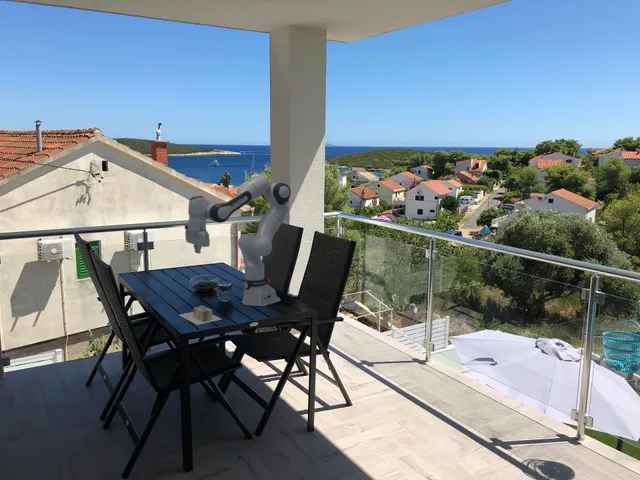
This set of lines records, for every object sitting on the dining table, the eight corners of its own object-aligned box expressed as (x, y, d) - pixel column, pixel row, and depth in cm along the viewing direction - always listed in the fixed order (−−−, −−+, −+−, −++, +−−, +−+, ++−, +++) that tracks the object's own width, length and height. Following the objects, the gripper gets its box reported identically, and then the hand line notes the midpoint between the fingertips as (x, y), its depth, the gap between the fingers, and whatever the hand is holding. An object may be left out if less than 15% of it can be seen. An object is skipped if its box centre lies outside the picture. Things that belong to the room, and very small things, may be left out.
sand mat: (203, 310, 256) (203, 309, 256) (222, 320, 241) (222, 319, 241) (178, 315, 246) (178, 314, 246) (197, 325, 232) (197, 324, 232)
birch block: (202, 305, 246) (212, 310, 239) (202, 314, 247) (212, 319, 240) (193, 307, 243) (203, 312, 236) (193, 316, 244) (203, 321, 236)
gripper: (212, 228, 245) (212, 255, 247) (193, 224, 260) (194, 249, 262) (201, 229, 241) (201, 256, 243) (182, 225, 256) (183, 250, 258)
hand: (197, 253), depth 252 cm, fingers closed
